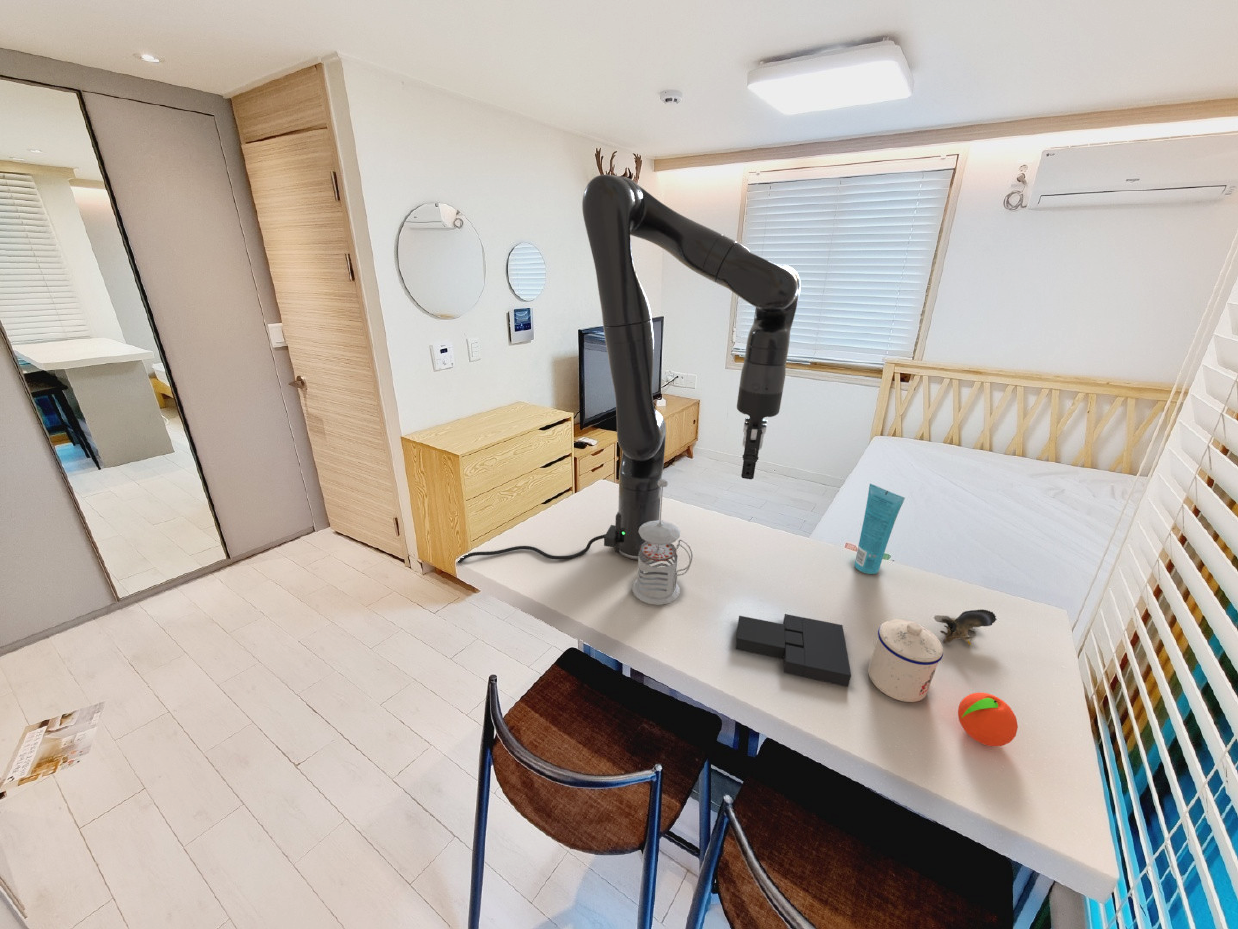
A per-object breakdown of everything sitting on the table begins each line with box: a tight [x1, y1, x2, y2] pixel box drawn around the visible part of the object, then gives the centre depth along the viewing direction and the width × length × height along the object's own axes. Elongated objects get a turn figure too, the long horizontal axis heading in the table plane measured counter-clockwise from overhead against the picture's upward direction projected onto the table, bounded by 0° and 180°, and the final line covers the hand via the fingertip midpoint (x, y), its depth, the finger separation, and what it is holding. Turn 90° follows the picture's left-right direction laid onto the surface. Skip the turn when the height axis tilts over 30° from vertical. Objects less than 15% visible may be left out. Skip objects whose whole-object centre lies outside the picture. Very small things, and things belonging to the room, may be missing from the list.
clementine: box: [957, 692, 1019, 747], centre depth 72 cm, size 8×7×7 cm
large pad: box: [782, 613, 852, 688], centre depth 87 cm, size 10×12×2 cm
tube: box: [854, 483, 906, 575], centre depth 107 cm, size 7×5×19 cm, turn 39°
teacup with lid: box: [867, 619, 944, 703], centre depth 81 cm, size 12×9×12 cm
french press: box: [631, 478, 694, 606], centre depth 97 cm, size 10×12×25 cm
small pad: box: [735, 615, 803, 660], centre depth 89 cm, size 11×6×2 cm, turn 74°
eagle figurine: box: [933, 609, 998, 646], centre depth 91 cm, size 8×7×9 cm
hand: (748, 468), depth 96 cm, fingers open, 8 cm apart
